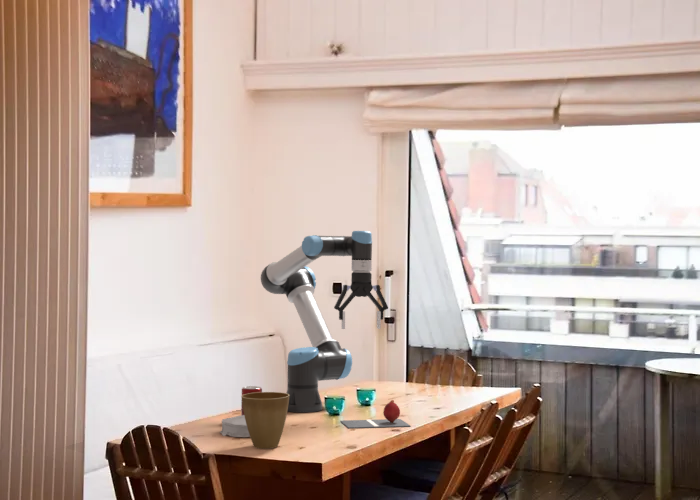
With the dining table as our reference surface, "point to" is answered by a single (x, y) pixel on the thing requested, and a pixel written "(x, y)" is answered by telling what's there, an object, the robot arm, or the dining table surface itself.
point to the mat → (374, 423)
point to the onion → (391, 411)
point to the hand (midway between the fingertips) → (361, 328)
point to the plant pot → (265, 417)
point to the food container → (235, 427)
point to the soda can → (249, 390)
